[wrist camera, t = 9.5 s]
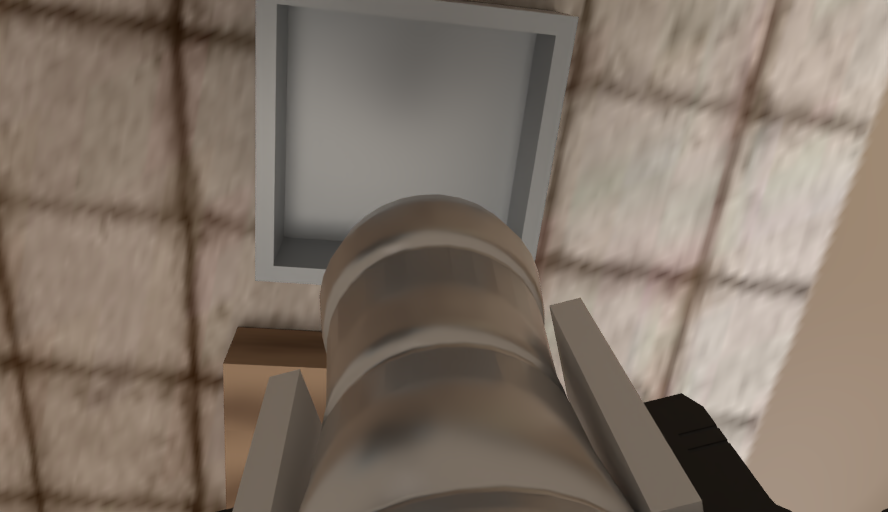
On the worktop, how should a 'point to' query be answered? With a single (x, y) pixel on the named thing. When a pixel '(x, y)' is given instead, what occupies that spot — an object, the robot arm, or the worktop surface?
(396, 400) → the plastic bottle
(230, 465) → the walnut frame
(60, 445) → the worktop surface
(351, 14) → the slate tray
